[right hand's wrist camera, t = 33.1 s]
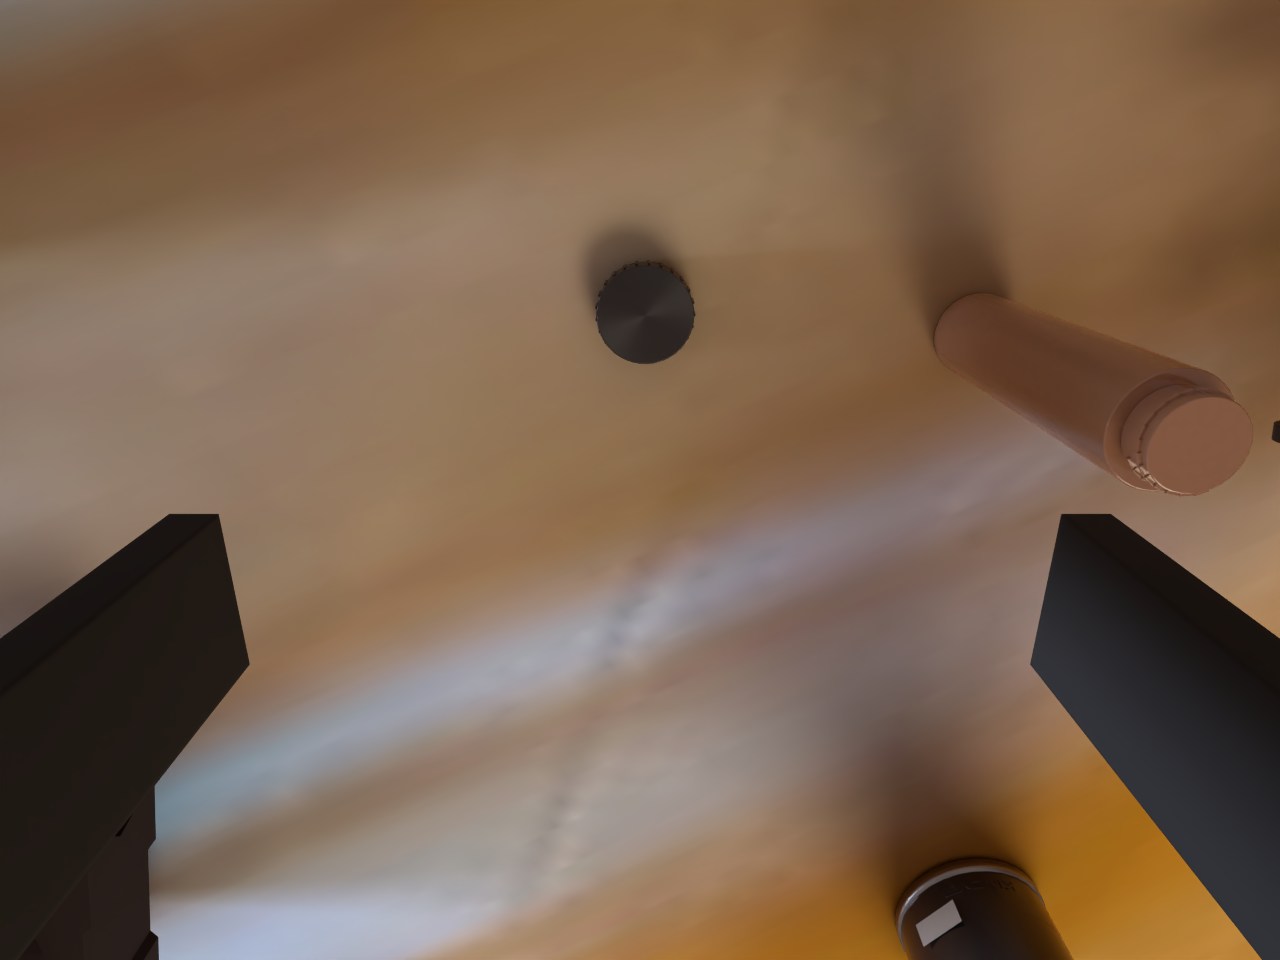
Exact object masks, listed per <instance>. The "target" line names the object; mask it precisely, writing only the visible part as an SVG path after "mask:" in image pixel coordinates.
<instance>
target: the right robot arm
mask: <svg viewBox="0 0 1280 960" xmlns="http://www.w3.org/2000/svg"><path fill="white" fill-rule="evenodd" d="M249 665H250V664H249V659H248V654H247V649H246V644H245V639H244V635H243V630H242V625H241V620H240V615H239V611H238V606H237V601H236V596H235V591H234V586H233V582H232V577H231V572H230V567H229V562H228V557H227V553H226V548H225V543H224V538H223V533H222V528H221V524H220V519H219V514H169V515H167V516H166V517H165V518H163V519H162V520H161V521H159V522H158V523H156V524H155V525H154V526H152V527H151V528H150V529H148V530H147V531H146V532H144V533H143V534H142V535H140V536H139V537H137V538H136V539H135V540H133V541H132V542H131V543H129V544H128V545H127V546H125V547H124V548H123V549H121V550H120V551H119V552H117V553H116V554H114V555H113V556H112V557H110V558H109V559H108V560H106V561H105V562H104V563H102V564H101V565H100V566H98V567H97V568H95V569H94V570H93V571H91V572H90V573H89V574H87V575H86V576H85V577H83V578H82V579H81V580H79V581H78V582H76V583H75V584H74V585H72V586H71V587H70V588H68V589H67V590H66V591H64V592H63V593H62V594H60V595H59V596H57V597H56V598H55V599H53V600H52V601H51V602H49V603H48V604H47V605H45V606H44V607H43V608H41V609H40V610H38V611H37V612H36V613H34V614H33V615H32V616H30V617H29V618H28V619H26V620H25V621H24V622H22V623H21V624H19V625H18V626H17V627H15V628H14V629H13V630H11V631H10V632H9V633H7V634H6V635H5V636H3V637H2V638H0V960H18V959H19V958H20V956H21V955H22V954H23V952H24V951H25V950H26V949H27V947H28V946H29V945H30V944H31V942H32V941H33V940H34V938H35V937H36V936H37V935H38V933H39V932H40V931H41V930H42V928H43V927H44V926H45V924H46V923H47V922H48V921H49V919H50V918H51V917H52V916H53V914H54V913H55V912H56V910H57V909H58V908H59V907H60V905H61V904H62V903H63V901H64V900H65V899H66V898H67V896H68V895H69V894H70V893H71V891H72V890H73V889H74V887H75V886H76V885H77V884H78V882H79V881H80V880H81V879H82V877H83V876H84V875H85V873H86V872H87V871H88V870H89V868H90V867H91V866H92V865H93V863H94V862H95V861H96V859H97V858H98V857H99V856H100V854H101V853H102V852H103V851H104V849H105V848H106V847H107V845H108V844H109V843H110V842H111V840H112V839H113V838H114V837H115V835H116V834H117V833H118V831H119V830H120V829H121V828H122V826H123V825H124V824H125V823H126V821H127V820H128V819H129V817H130V816H131V815H132V814H133V812H134V811H135V810H136V809H137V807H138V806H139V805H140V803H141V802H142V801H143V800H144V798H145V797H146V796H147V794H148V793H149V792H150V791H151V789H152V788H153V787H154V786H155V784H156V783H157V782H158V780H159V779H160V778H161V777H162V775H163V774H164V773H165V772H166V770H167V769H168V768H169V766H170V765H171V764H172V763H173V761H174V760H175V759H176V758H177V756H178V755H179V754H180V752H181V751H182V750H183V749H184V747H185V746H186V745H187V744H188V742H189V741H190V740H191V738H192V737H193V736H194V735H195V733H196V732H197V731H198V730H199V728H200V727H201V726H202V724H203V723H204V722H205V721H206V719H207V718H208V717H209V716H210V714H211V713H212V712H213V710H214V709H215V708H216V707H217V705H218V704H219V703H220V702H221V700H222V699H223V698H224V696H225V695H226V694H227V693H228V691H229V690H230V689H231V687H232V686H233V685H234V684H235V682H236V681H237V680H238V679H239V677H240V676H241V675H242V673H243V672H244V671H245V670H246V668H247V667H248V666H249ZM1030 665H1031V666H1032V667H1033V668H1034V670H1035V671H1036V672H1037V673H1038V675H1039V676H1040V677H1041V679H1042V680H1043V681H1044V682H1045V684H1046V685H1047V686H1048V687H1049V689H1050V690H1051V691H1052V693H1053V694H1054V695H1055V696H1056V698H1057V699H1058V700H1059V702H1060V703H1061V704H1062V705H1063V707H1064V708H1065V709H1066V710H1067V712H1068V713H1069V714H1070V716H1071V717H1072V718H1073V719H1074V721H1075V722H1076V723H1077V724H1078V726H1079V727H1080V728H1081V730H1082V731H1083V732H1084V733H1085V735H1086V736H1087V737H1088V738H1089V740H1090V741H1091V742H1092V744H1093V745H1094V746H1095V747H1096V749H1097V750H1098V751H1099V752H1100V754H1101V755H1102V756H1103V758H1104V759H1105V760H1106V761H1107V763H1108V764H1109V765H1110V766H1111V768H1112V769H1113V770H1114V772H1115V773H1116V774H1117V775H1118V777H1119V778H1120V779H1121V780H1122V782H1123V783H1124V784H1125V786H1126V787H1127V788H1128V789H1129V791H1130V792H1131V793H1132V794H1133V796H1134V797H1135V798H1136V800H1137V801H1138V802H1139V803H1140V805H1141V806H1142V807H1143V809H1144V810H1145V811H1146V812H1147V814H1148V815H1149V816H1150V817H1151V819H1152V820H1153V821H1154V823H1155V824H1156V825H1157V826H1158V828H1159V829H1160V830H1161V831H1162V833H1163V834H1164V835H1165V837H1166V838H1167V839H1168V840H1169V842H1170V843H1171V844H1172V845H1173V847H1174V848H1175V849H1176V851H1177V852H1178V853H1179V854H1180V856H1181V857H1182V858H1183V859H1184V861H1185V862H1186V863H1187V865H1188V866H1189V867H1190V868H1191V870H1192V871H1193V872H1194V873H1195V875H1196V876H1197V877H1198V879H1199V880H1200V881H1201V882H1202V884H1203V885H1204V886H1205V887H1206V889H1207V890H1208V891H1209V893H1210V894H1211V895H1212V896H1213V898H1214V899H1215V900H1216V901H1217V903H1218V904H1219V905H1220V907H1221V908H1222V909H1223V910H1224V912H1225V913H1226V914H1227V916H1228V917H1229V918H1230V919H1231V921H1232V922H1233V923H1234V924H1235V926H1236V927H1237V928H1238V930H1239V931H1240V932H1241V933H1242V935H1243V936H1244V937H1245V938H1246V940H1247V941H1248V942H1249V944H1250V945H1251V946H1252V947H1253V949H1254V950H1255V951H1256V952H1257V954H1258V955H1259V956H1260V958H1261V959H1262V960H1280V638H1278V637H1277V636H1275V635H1274V634H1273V633H1271V632H1270V631H1269V630H1267V629H1266V628H1265V627H1263V626H1262V625H1261V624H1259V623H1258V622H1256V621H1255V620H1254V619H1252V618H1251V617H1250V616H1248V615H1247V614H1246V613H1244V612H1243V611H1242V610H1240V609H1239V608H1237V607H1236V606H1235V605H1233V604H1232V603H1231V602H1229V601H1228V600H1227V599H1225V598H1224V597H1223V596H1221V595H1220V594H1218V593H1217V592H1216V591H1214V590H1213V589H1212V588H1210V587H1209V586H1208V585H1206V584H1205V583H1204V582H1202V581H1201V580H1199V579H1198V578H1197V577H1195V576H1194V575H1193V574H1191V573H1190V572H1189V571H1187V570H1186V569H1185V568H1183V567H1182V566H1180V565H1179V564H1178V563H1176V562H1175V561H1174V560H1172V559H1171V558H1170V557H1168V556H1167V555H1166V554H1164V553H1163V552H1161V551H1160V550H1159V549H1157V548H1156V547H1155V546H1153V545H1152V544H1151V543H1149V542H1148V541H1147V540H1145V539H1144V538H1142V537H1141V536H1140V535H1138V534H1137V533H1136V532H1134V531H1133V530H1132V529H1130V528H1129V527H1128V526H1126V525H1125V524H1124V523H1122V522H1121V521H1119V520H1118V519H1117V518H1115V517H1114V516H1113V515H1111V514H1061V519H1060V524H1059V528H1058V533H1057V538H1056V543H1055V548H1054V553H1053V557H1052V562H1051V567H1050V572H1049V577H1048V582H1047V586H1046V591H1045V596H1044V601H1043V606H1042V610H1041V615H1040V620H1039V625H1038V630H1037V635H1036V639H1035V644H1034V649H1033V654H1032V659H1031V664H1030Z"/></svg>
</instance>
